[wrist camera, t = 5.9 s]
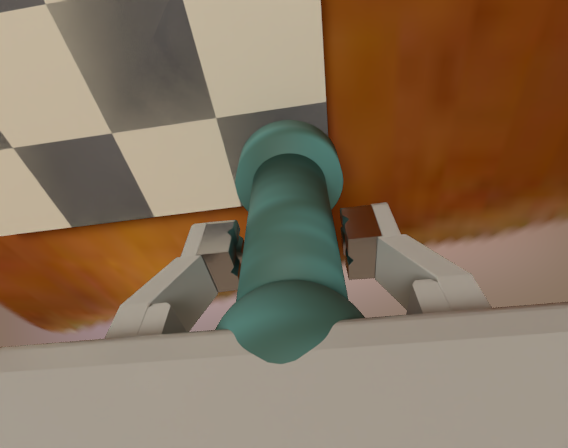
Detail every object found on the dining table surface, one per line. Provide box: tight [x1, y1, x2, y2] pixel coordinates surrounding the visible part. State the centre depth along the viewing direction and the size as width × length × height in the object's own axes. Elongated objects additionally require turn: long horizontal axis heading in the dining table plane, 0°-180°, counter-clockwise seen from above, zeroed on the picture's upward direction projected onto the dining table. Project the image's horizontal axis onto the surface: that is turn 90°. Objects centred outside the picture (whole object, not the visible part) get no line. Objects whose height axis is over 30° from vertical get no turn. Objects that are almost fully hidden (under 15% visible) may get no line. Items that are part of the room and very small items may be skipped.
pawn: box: [215, 120, 365, 364], centre depth 10 cm, size 4×4×11 cm
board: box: [0, 0, 328, 236], centre depth 12 cm, size 20×20×1 cm
